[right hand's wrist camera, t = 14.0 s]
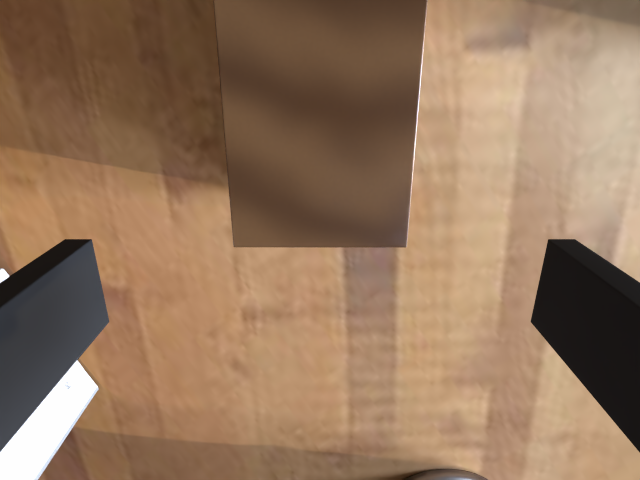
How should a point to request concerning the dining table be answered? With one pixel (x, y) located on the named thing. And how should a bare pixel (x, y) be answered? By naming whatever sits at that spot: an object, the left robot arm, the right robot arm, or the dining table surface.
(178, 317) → the dining table surface
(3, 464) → the hard drive box
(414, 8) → the cabinet
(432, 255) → the dining table surface
